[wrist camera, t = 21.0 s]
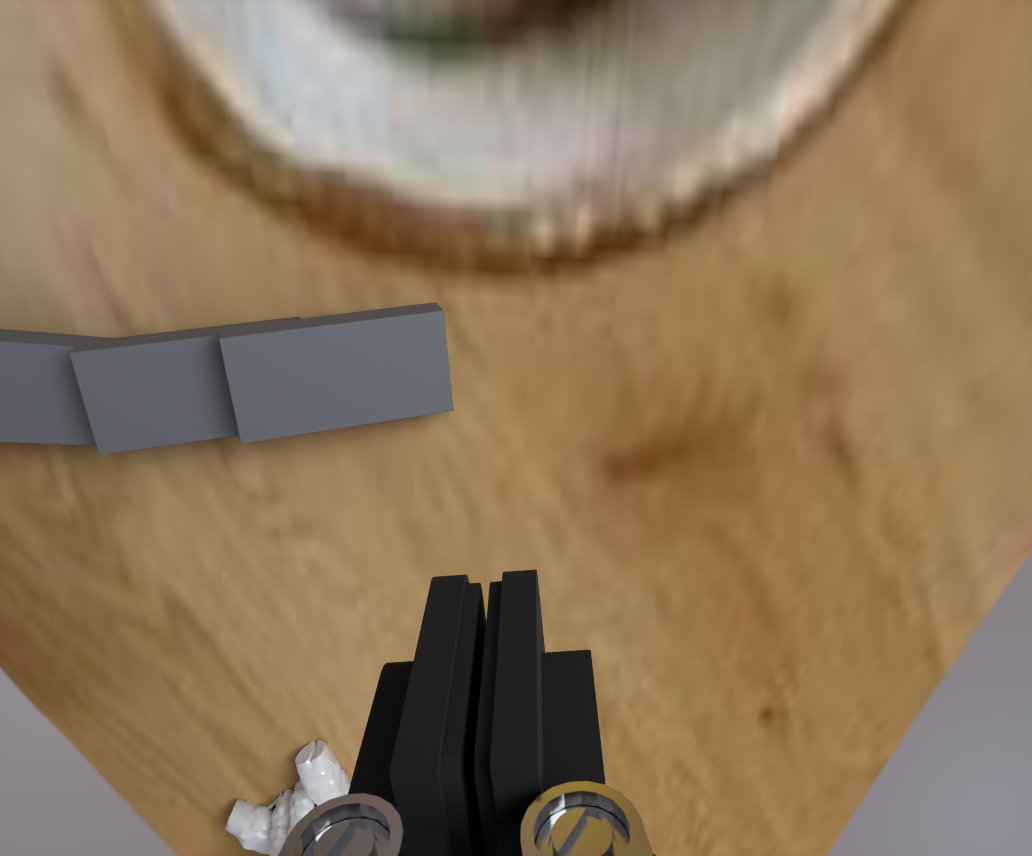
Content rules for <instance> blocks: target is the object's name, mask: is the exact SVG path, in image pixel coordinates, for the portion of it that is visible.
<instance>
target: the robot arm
mask: <svg viewBox="0 0 1032 856" xmlns="http://www.w3.org/2000/svg"><path fill="white" fill-rule="evenodd" d="M278 856H656V855H654V854H653V853H652V850H651V847H650V844H649V841H648V838H647V835H646V832H645V829H644V826H643V823H642V820H641V818H640V816H639V814H638V812H637V810H636V809H635V807H634V805H633V804H632V803H631V802H630V801H629V800H628V799H627V798H626V797H625V796H624V795H623V794H622V793H621V792H619V791H617V790H615V789H613V788H611V787H609V786H607V785H605V776H604V767H603V758H602V749H601V740H600V731H599V722H598V713H597V703H596V694H595V685H594V676H593V667H592V658H591V651H590V650H578V651H563V652H547V653H545V646H544V636H543V626H542V616H541V606H540V595H539V585H538V576H537V570H525V571H511V572H503V575H502V581H498V582H490V588H489V599H488V610H487V621H486V617H485V609H484V601H483V594H482V587H481V584H480V583H469V580H468V576H467V575H454V576H440V577H433V578H432V580H431V584H430V589H429V593H428V598H427V603H426V607H425V612H424V616H423V621H422V625H421V630H420V635H419V639H418V644H417V648H416V653H415V657H414V661H409V662H393V663H386V664H385V665H384V666H383V669H382V671H381V674H380V678H379V682H378V685H377V689H376V693H375V696H374V700H373V704H372V707H371V711H370V715H369V718H368V722H367V726H366V729H365V733H364V737H363V740H362V744H361V748H360V751H359V755H358V759H357V762H356V766H355V770H354V773H353V777H352V781H351V784H350V788H349V792H348V794H346V795H343V796H340V797H336V798H333V799H330V800H328V801H326V802H324V803H322V804H321V805H319V806H317V807H315V808H314V809H312V810H311V811H310V812H308V813H307V814H306V815H305V816H304V817H303V818H302V819H301V820H300V821H298V822H297V824H296V825H295V827H294V828H293V830H292V831H291V832H290V834H289V835H288V837H287V838H286V840H285V842H284V844H283V846H282V848H281V850H280V852H279V854H278Z"/></svg>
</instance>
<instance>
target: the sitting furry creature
mask: <svg viewBox="0 0 1032 856" xmlns="http://www.w3.org/2000/svg"><path fill="white" fill-rule="evenodd" d="M295 762H296V769H297V772H298V774H299V776H300V779H299V780H298V781H297V783H296V785H295V789H294V791H293V790H290V789H287V790H285V792H284V795H283V793H282V792H281V793H280V795H279V797H278V798H277V799H276V800H275V801H273V802H272V803H271V804H269V805H268V806H264V805H259V804H256V803H253V802H251V801H249V800H246V801H243V800H241V799H239V798H238V800H237V801H236V804H235V806H234V808H233V810H232V813H231V815H230V817H229V820H228V822H227V826H226V828H225V830H227V831H228V832H229V833H230V834H232V835H234V836H236V837H237V838H238V840H239V842H240V843H241V844H242V846H243V847H244V848H245V849H248V850H255V851H256V852H258V853H262V854H269V856H278V854H279V852H280V850H281V848H282V846H283V844H284V842H285V840H286V838H287V837H288V835H289V834H290V832H291V831H292V830H293V828H294V827H295V825H296V824H297V822H298V821H300V820H301V819H302V818H303V817H304V816H305V815H306V814H307V813H308V812H310V811H311V810H312V809H314V807H315V804H316V805H317V806H319V805H321V804H322V803H324V802H326V801H328V800H330V799H333V798H336V797H340V796H343V795H346V794H348V792H349V788H350V782H349V780H348V774H346V773H345V770H343V769H342V768H341V767H340V764H339V763H338V761H337V759H336V758H335V755H334V753H333V751H332V750H331V748H330V747H329V745H328V743H327V744H326V743H325V742H324V741H323V740H318V741H317V743H316V742H314V741H312V742H311V743H309V744H308V745H306V746H305V747H304V748H303V749H302V750H301V751H300V752H299V754H298V755H297V757H296V760H295ZM275 804H276V808H275V809H273V808H272V807H273V806H274V805H275Z"/></svg>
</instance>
